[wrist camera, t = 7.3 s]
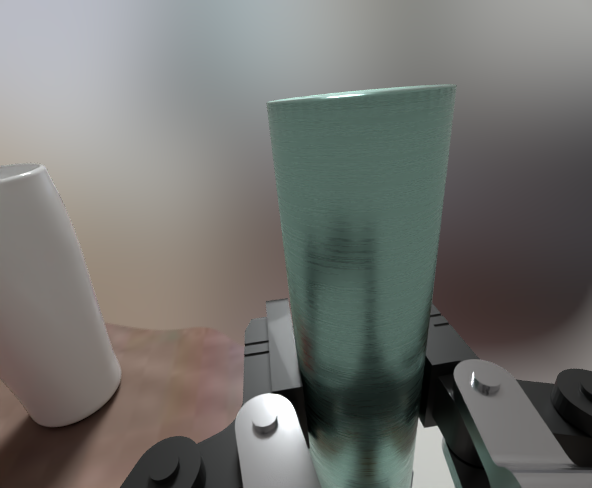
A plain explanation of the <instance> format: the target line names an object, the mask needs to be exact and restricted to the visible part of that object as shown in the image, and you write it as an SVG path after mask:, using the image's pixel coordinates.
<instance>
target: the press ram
mask: <svg viewBox="0 0 592 488" xmlns="http://www.w3.org/2000/svg"><path fill="white" fill-rule="evenodd" d="M455 95H456V85H425V86H412V87H411V86H410V87H397V88H386V89H385V88H384V89H373V90H361V91H351V92H341V93H332V94H321V95H314V96H304V97H296V98H289V99H282V100H275V101H270V102H267V111H268V119H269V128H270V136H271V144H272V153H273V161H274V169H275V177H276V186H277V193H278V202H279V211H280V219H281V227H282V236H283V245H284V253H285V261H286V270H287V277H288V286H289V294H290V303H291V311H292V319H293V328H294V336H295V345H296V353H297V361H298V365H299V368H300V373H301V378H302V384H303V392H304V400H305V409H306V418H307V426H308V435H309V444H310V449H308V450H309V453H310V456H311V459H312V461H313V464H314V467H315V470H316V473H317V476H318V479H319V482H320V484H321V487H322V488H410V487H411V478H412V470H413V461H414V452H415V443H416V435H417V426H418V417H419V409H420V400H421V391H422V382H423V374H424V365H425V356H426V348H427V339H428V330H429V321H430V313H431V304H432V294H433V286H434V278H435V269H436V259H437V252H438V243H439V234H440V226H441V216H442V207H443V199H444V190H445V182H446V173H447V165H448V156H449V146H450V139H451V130H452V120H453V112H454V103H455Z"/></svg>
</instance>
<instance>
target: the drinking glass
mask: <svg viewBox="0 0 592 488" xmlns="http://www.w3.org/2000/svg"><path fill="white" fill-rule="evenodd" d="M0 379H1V380H2V382H3V383H4V384H5V385H6V386H7V387H8V388H9V389H10V391H11V392H12V393H13V394H14V395H15V396H16V397H17V399H18V400H19V401H20V402H21V404H22V405H23V407H24V408H25V410H26V411H27V412H28V414H29V415H30V417H31V418H32V419H33V420H34V421H35V422H36V423H38V424H39V425H42V426H45V427H61V426H66V425H70V424H73V423H75V422H78V421H80V420H82V419H84V418H86V417H88V416H90V415H91V414H93V413H94V412H96V411H97V410H98V409H100V408H101V407H102V406H103V405H104V404H105V403H106V402H107V401H108V400H109V399H110V398H111V397H112V396H113V394H114V393H115V391H116V390H117V388H118V386H119V384H120V381H121V367H120V364H119V362H118V360H117V357H116V355H115V353H114V351H113V348H112V345H111V342H110V339H109V336H108V333H107V330H106V327H105V323H104V320H103V317H102V314H101V311H100V308H99V305H98V301H97V298H96V295H95V292H94V289H93V285H92V282H91V279H90V276H89V272H88V269H87V266H86V263H85V259H84V256H83V253H82V250H81V247H80V244H79V241H78V238H77V235H76V232H75V230H74V227H73V224H72V222H71V220H70V217H69V215H68V212H67V210H66V208H65V205H64V204H63V201H62V199H61V197H60V195H59V193H58V191H57V189H56V187H55V184H54V182H53V180H52V178H51V176H50V174H49V172H48V170H47V168H46V167H45V166H44V165H42V164H38V163H24V164H11V165H2V166H0Z"/></svg>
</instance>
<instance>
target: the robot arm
mask: <svg viewBox="0 0 592 488" xmlns="http://www.w3.org/2000/svg"><path fill="white" fill-rule="evenodd" d="M266 308H267V317H263V318H257V319H252V320H251V322H250V323H249V325H248V327H247V329H246V330H245V351H244V355H245V357H244V387H243V404H242V407H241V409H240V411H239V412H238V414H237V417H236V418H235V420H234V421H233V422H232V423H231V424H230V425H229V426H228V427H227V428H225V429H224V430H223V431H221V432H219V433H218V434H216V435H214V436H212V437H210V438H208V439H206V440H204V441H202V442H200V443H198V444H196V443H195V442H194V441H193V440H191V439H190V438H187V437H183V436H175V437H170V438H167V439H164V440H162V441H160V442H158V443H157V444H155V445H154V446H152V447H151V448H150V449H149V450H147V451H146V452H145V453H144V455H143V456H142V457H141V458H140V459H139V461H138V462H137V464H136V465H135V466H134V468H133V469H132V471H131V472H130V474H129V475H128V477H127V478H126V480H125V481H124V482H123V484H122V485H121V487H120V488H322V487H321V484H320V482H319V479H318V476H317V473H316V470H315V467H314V464H313V461H312V459H311V456H310V453H309V450H308V449H310V444H309V435H308V426H307V418H306V409H305V400H304V392H303V384H302V378H301V373H300V368H299V365H298V361H297V353H296V345H295V338H294V332H293V326H292V321H291V315H290V309H289V304H288V299H287V298H286V299H279V300H272V301H266ZM419 419H420V421H421V423H422V425H423V427H424V428H427V427H433V426H438V428H439V430H440V431H441V433H442V435H443V438H442V450H443V454H444V457H445V460H446V463H447V465H448V468H449V471H450V474H451V477H452V480H453V483H454V486H455V488H592V371H588V370H583V369H567V370H564V371H562V372H561V373H559V375H558V376H557V379H556V382H555V384H550V383H541V382H531V381H522V380H516V379H515V378H514V377H513V376H512V375H511V374H510V373H509V372H507V371H506V370H505V369H503V368H502V367H500V366H498V365H496V364H494V363H491V362H489V361H485V360H480V359H479V358H478V357H477V356H476V354H475V353H474V352H473V351H472V350H471V349H470V347H469V346H468V345H467V344H466V343H465V341H464V340H463V339H462V338H461V337H460V335H459V334H458V333H457V332H456V331H455V330H454V328H453V327H452V326H451V325H449V323H448V321H447V320H446V319H445V318H444V317H443V316H441V313H440V312H439V311H438V310H437V308H436V307H435V306H434V305H433V304H431V313H430V321H429V330H428V339H427V348H426V356H425V365H424V374H423V382H422V391H421V400H420V409H419Z"/></svg>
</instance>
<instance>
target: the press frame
mask: <svg viewBox="0 0 592 488" xmlns="http://www.w3.org/2000/svg"><path fill="white" fill-rule="evenodd" d="M442 438H443V435H442V433H441V431H440V430H439V428H438V426H433V427H427V428H424V427H423V425H422V423H421V421H420V419H419V417H418V426H417V435H416V443H415V452H414V461H413V470H412V478H411V487H410V488H455V486H454V483H453V480H452V477H451V474H450V471H449V468H448V465H447V463H446V460H445V457H444V454H443V450H442Z"/></svg>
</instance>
